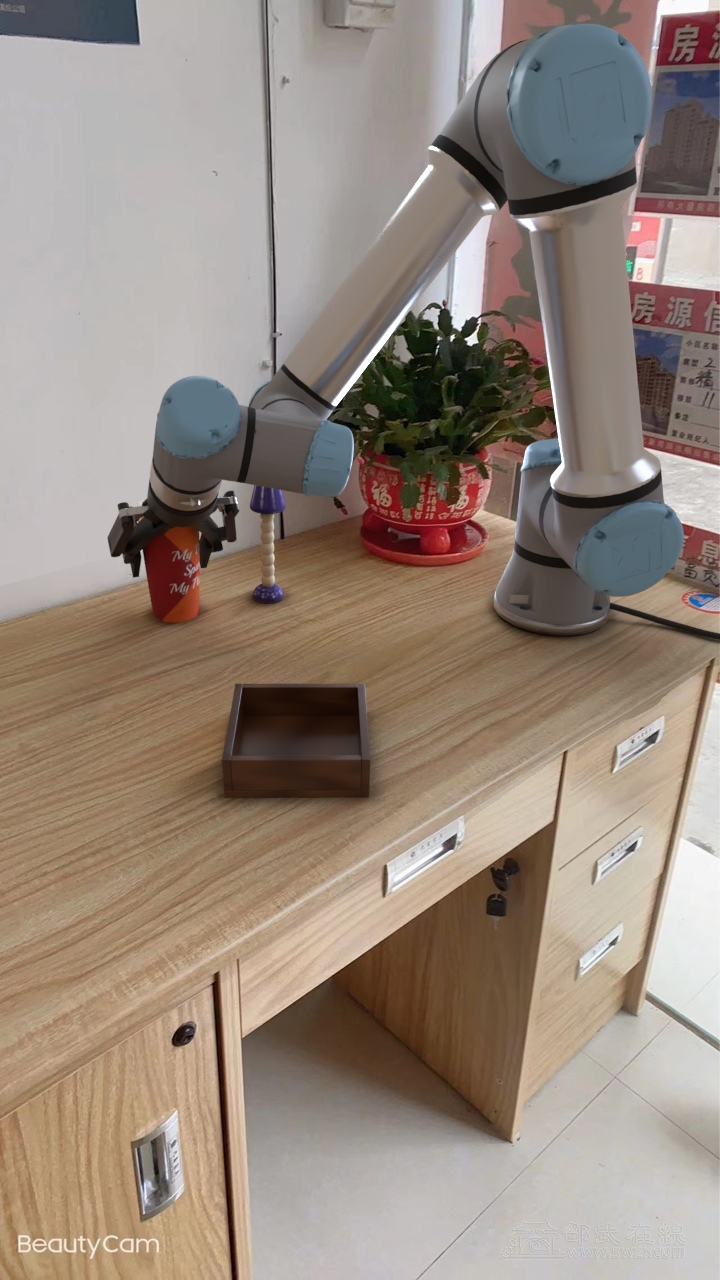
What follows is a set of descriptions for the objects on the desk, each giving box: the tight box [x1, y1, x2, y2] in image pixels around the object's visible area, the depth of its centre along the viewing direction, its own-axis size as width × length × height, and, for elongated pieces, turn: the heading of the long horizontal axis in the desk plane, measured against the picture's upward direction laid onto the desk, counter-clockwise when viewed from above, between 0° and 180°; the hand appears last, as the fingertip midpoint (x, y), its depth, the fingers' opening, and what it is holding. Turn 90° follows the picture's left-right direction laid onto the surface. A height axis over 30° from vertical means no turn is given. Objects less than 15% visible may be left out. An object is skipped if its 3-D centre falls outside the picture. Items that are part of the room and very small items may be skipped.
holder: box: [221, 683, 371, 798], centre depth 88 cm, size 14×14×4 cm
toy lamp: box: [249, 485, 287, 604], centre depth 117 cm, size 5×5×17 cm
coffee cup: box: [136, 498, 201, 624], centre depth 113 cm, size 8×8×15 cm
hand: (168, 563), depth 116 cm, fingers closed on coffee cup, 8 cm apart
